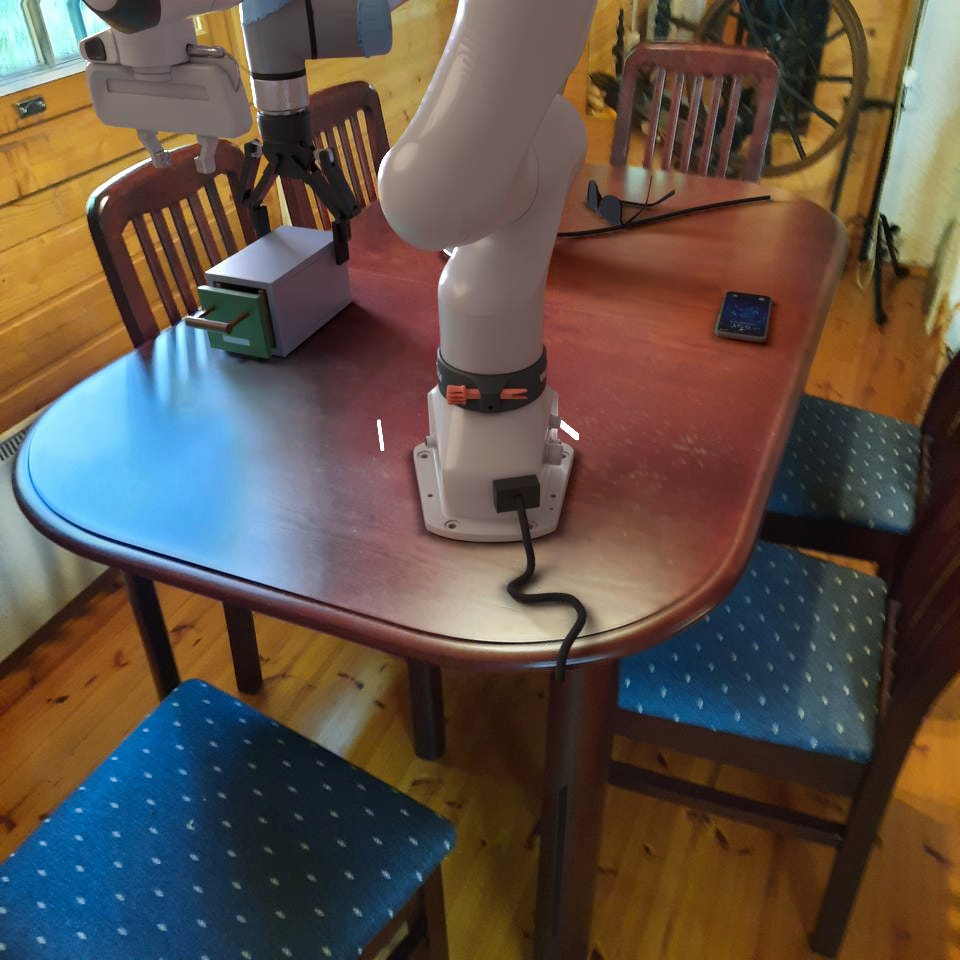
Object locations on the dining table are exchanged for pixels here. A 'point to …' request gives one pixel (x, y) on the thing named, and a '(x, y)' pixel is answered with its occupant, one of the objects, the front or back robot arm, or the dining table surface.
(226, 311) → the drawer
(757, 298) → the smartphone
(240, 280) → the cabinet
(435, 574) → the dining table surface
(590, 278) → the dining table surface
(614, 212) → the sunglasses
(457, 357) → the front robot arm
